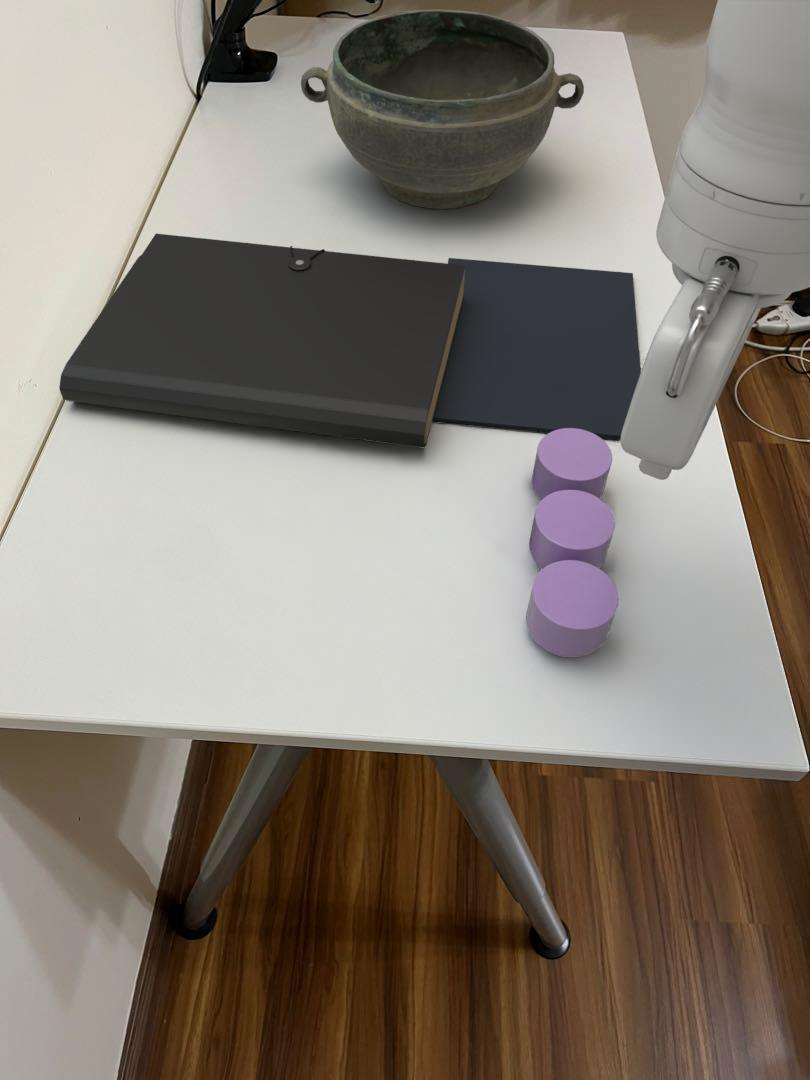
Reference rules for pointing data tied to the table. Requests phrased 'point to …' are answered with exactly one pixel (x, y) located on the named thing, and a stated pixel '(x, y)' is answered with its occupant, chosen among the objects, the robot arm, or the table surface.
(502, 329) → the mat
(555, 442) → the purple short cylinder
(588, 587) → the lavender round puck
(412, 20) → the bowl
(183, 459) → the table surface
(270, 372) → the file folder
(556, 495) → the lilac cylinder puck
